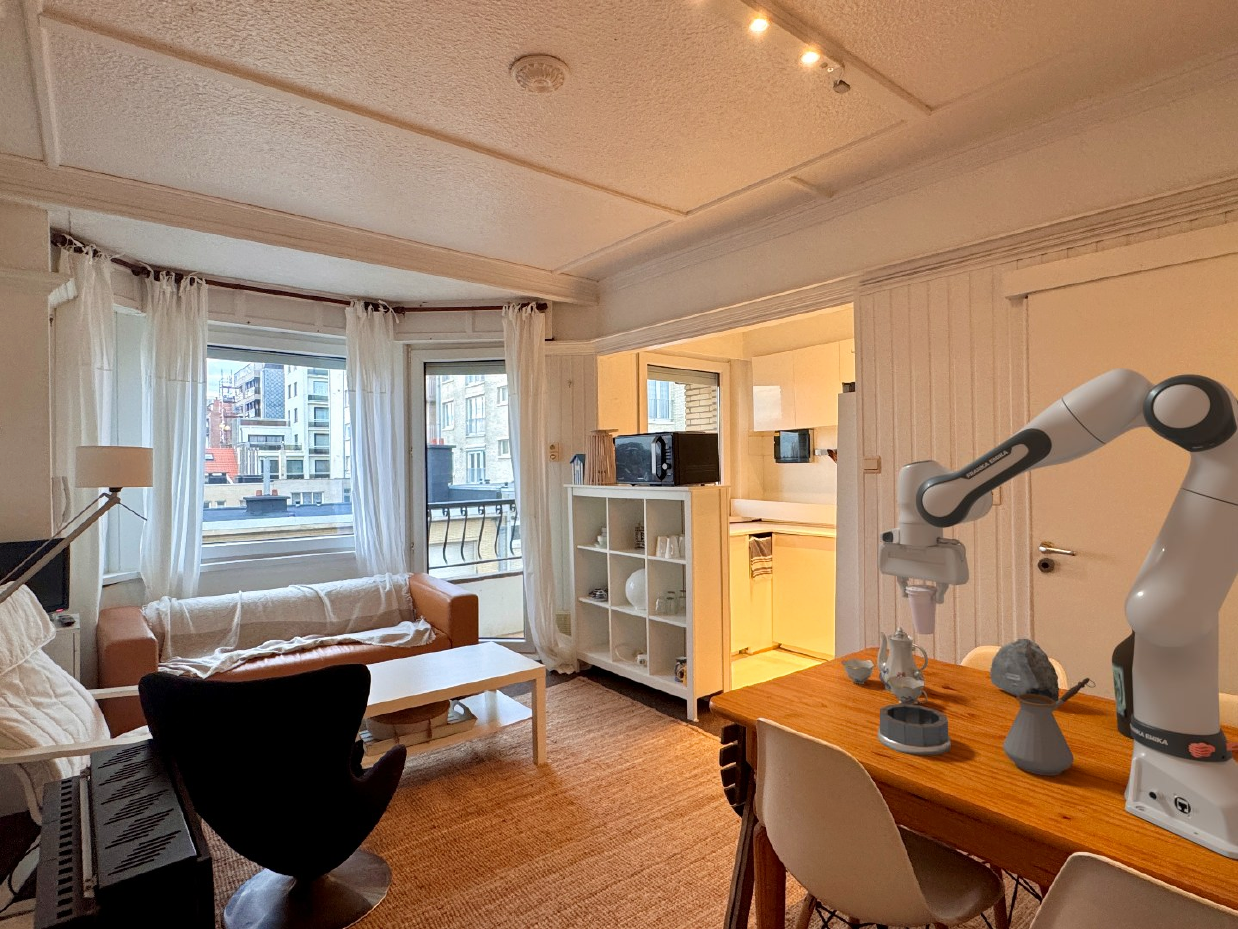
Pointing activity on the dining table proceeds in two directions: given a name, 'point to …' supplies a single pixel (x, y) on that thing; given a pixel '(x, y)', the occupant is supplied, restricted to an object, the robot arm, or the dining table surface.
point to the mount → (914, 730)
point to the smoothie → (922, 607)
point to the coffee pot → (1040, 735)
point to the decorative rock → (1024, 670)
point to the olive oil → (1124, 683)
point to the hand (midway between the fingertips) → (922, 600)
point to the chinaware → (893, 668)
